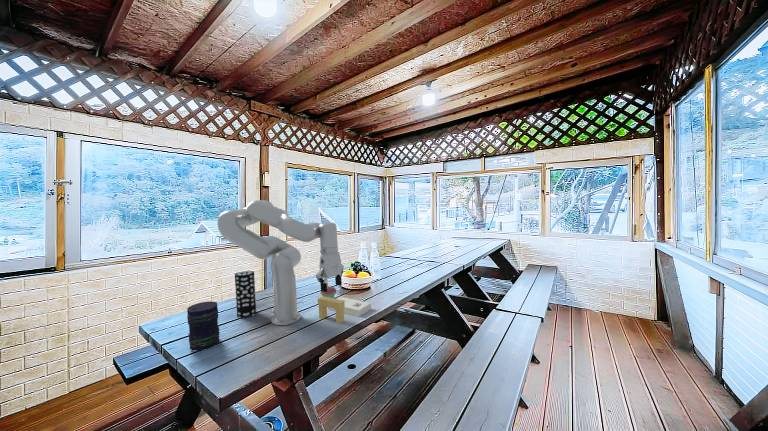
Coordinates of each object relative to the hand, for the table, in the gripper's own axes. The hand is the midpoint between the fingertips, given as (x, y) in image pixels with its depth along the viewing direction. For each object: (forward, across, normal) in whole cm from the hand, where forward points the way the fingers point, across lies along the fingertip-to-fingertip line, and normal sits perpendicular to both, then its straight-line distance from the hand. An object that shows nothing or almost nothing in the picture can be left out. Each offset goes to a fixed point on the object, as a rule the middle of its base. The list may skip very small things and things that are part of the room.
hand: (331, 288), depth 127 cm
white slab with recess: (+14, +12, +1) cm, 19 cm away
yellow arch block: (+14, 0, +1) cm, 14 cm away
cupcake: (+14, +18, +19) cm, 29 cm away
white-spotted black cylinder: (+13, -15, +41) cm, 46 cm away
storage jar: (+13, -40, +29) cm, 51 cm away
